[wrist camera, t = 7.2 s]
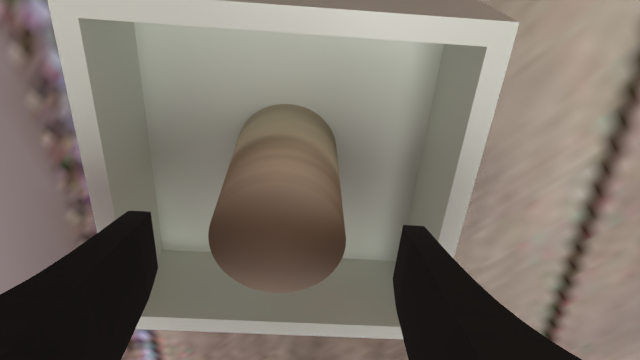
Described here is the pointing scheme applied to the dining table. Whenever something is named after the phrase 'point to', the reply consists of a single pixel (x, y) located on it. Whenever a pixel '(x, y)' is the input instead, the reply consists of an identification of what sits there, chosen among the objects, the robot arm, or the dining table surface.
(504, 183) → the dining table surface
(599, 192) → the dining table surface
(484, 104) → the sage bin
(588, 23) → the dining table surface
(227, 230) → the birch cylinder
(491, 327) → the robot arm
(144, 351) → the dining table surface
